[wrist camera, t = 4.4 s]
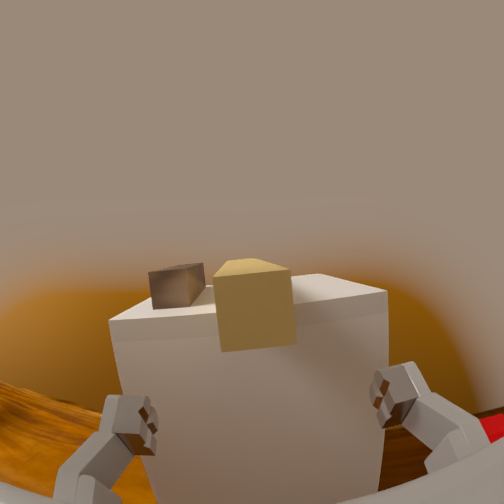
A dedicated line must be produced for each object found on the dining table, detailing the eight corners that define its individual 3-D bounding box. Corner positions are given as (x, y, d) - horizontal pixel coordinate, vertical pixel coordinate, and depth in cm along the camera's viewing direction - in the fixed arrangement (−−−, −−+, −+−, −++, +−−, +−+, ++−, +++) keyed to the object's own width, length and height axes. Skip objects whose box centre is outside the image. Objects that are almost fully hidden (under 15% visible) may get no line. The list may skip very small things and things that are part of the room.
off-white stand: (178, 551, 21) (108, 320, 21) (195, 455, 41) (165, 289, 41) (370, 527, 22) (387, 290, 22) (326, 440, 42) (318, 273, 42)
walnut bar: (152, 309, 24) (148, 272, 24) (181, 289, 38) (178, 265, 38) (189, 306, 25) (185, 268, 25) (205, 287, 39) (203, 262, 39)
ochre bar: (221, 352, 12) (212, 277, 12) (230, 287, 36) (227, 260, 36) (296, 344, 12) (290, 269, 12) (256, 284, 36) (254, 257, 36)
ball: (515, 481, 19) (533, 432, 19) (458, 497, 22) (474, 450, 22) (497, 448, 27) (508, 402, 27) (446, 460, 29) (456, 414, 29)
